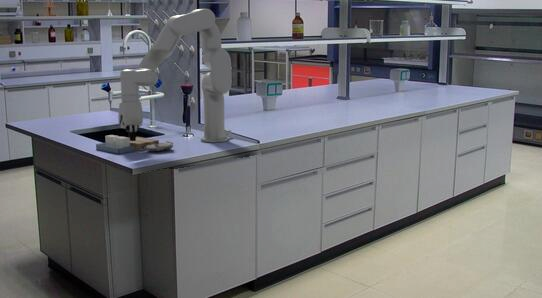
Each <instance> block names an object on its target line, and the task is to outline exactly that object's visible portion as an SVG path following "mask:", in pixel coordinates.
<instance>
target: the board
mask: <svg viewBox="0 0 542 298" xmlns="http://www.w3.org/2000/svg"><path fill="white" fill-rule="evenodd" d="M158 143H160V140H158V139H153V138H147V137H142V136H136V141H130V146H134V152H138V151H144V150H146V149H145V148H144V147H145V146H146V145H151V144H158Z"/></svg>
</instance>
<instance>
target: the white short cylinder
mask: <svg viewBox="0 0 542 298" xmlns="http://www.w3.org/2000/svg"><path fill="white" fill-rule="evenodd" d="M115 137H121V136H119V135H114V134H109V135H105V137H104V138H105V143H106V146H110V147H115V148H116V145H115Z"/></svg>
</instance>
